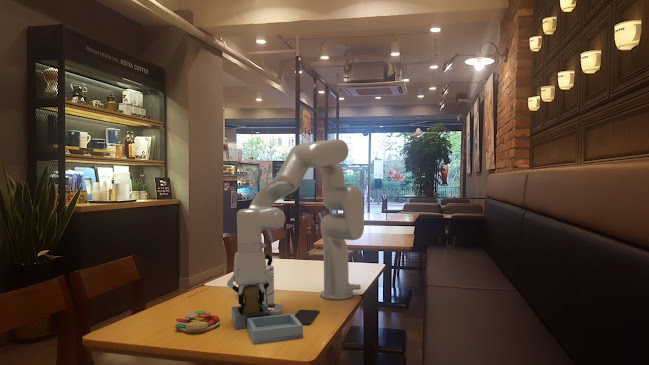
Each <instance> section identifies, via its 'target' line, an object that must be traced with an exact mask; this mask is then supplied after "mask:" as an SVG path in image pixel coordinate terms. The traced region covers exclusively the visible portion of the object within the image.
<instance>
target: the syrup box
mask: <svg viewBox="0 0 649 365" xmlns="http://www.w3.org/2000/svg"><path fill="white" fill-rule="evenodd" d="M266 268H267V272H268V273H269V274H270V275H271V277H272V278H273V279H274V281H273V282H272V283H271V284H270V285H269V286H268V288H267V289H266V290H265V292H264V302H262V304H264V305H266V304H270V303H274V304H275V269H274V265H271V266H268V265H267V264H266ZM267 281H268V278H267ZM267 281H266V282H267ZM264 283H265V282H264ZM264 283H263V284H264ZM253 285H256V286H258V288H259V285H258V284H253ZM259 289H260V288H259ZM258 301H259V300H258Z"/></svg>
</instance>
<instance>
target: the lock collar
mask: <svg viewBox="0 0 649 365" xmlns="http://www.w3.org/2000/svg"><path fill="white" fill-rule="evenodd" d="M259 307H260V312H257V313H247V314H243V308H244V307H241V305H237V306H236V305H235V306H231V322H232V323H233V326H234V329H235V330H242V329H247V318H256V317H265V316H274V315H283V305H282V304H279V303H275V302H274V303H270V304H266V305H264V304H262V305H260V304H259Z"/></svg>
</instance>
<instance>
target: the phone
mask: <svg viewBox="0 0 649 365" xmlns="http://www.w3.org/2000/svg"><path fill="white" fill-rule="evenodd" d="M320 313H321V311H320V310H318V309H317V310H316V309H299V310H297V312H296V313H295V314H294V316H295V317H296V318H297V319H298V320H299V322H300V323H301V324H302V325H303V327H304V326H305V327H306V326H311V325H312V324H313V322H314V321H315V319H317V317H318V316H319V315H320Z"/></svg>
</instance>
